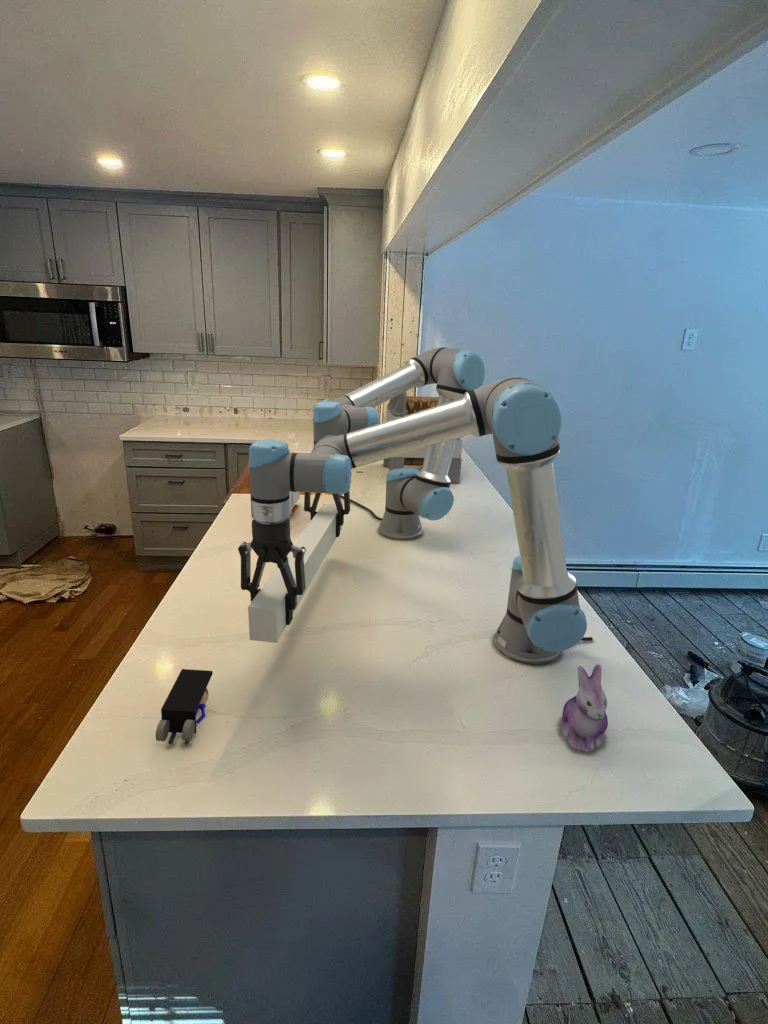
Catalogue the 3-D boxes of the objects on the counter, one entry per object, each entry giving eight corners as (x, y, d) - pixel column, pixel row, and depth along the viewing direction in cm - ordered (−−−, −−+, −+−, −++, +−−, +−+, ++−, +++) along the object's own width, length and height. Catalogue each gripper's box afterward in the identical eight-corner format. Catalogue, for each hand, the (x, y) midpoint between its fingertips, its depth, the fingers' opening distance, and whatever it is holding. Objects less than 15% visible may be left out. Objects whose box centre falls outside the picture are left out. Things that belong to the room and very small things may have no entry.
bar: (323, 527, 174) (323, 503, 172) (341, 528, 173) (341, 505, 171) (249, 640, 114) (247, 606, 112) (277, 643, 113) (276, 609, 111)
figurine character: (195, 758, 100) (216, 696, 113) (191, 727, 96) (213, 666, 110) (157, 758, 99) (182, 695, 113) (151, 726, 96) (178, 666, 110)
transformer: (382, 463, 289) (386, 382, 275) (445, 464, 293) (451, 384, 279) (390, 482, 257) (394, 392, 243) (460, 483, 261) (468, 394, 247)
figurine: (585, 761, 101) (600, 692, 96) (546, 725, 110) (557, 659, 104) (622, 745, 105) (638, 678, 100) (581, 712, 114) (594, 648, 109)
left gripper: (290, 459, 156) (292, 537, 164) (358, 463, 154) (356, 542, 162) (297, 452, 163) (299, 527, 171) (362, 457, 161) (360, 532, 169)
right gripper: (217, 521, 110) (225, 625, 118) (312, 528, 108) (313, 634, 116) (232, 508, 117) (238, 607, 125) (321, 515, 115) (321, 615, 123)
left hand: (327, 534), depth 167 cm, fingers closed on bar, 6 cm apart
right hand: (274, 620), depth 120 cm, fingers closed on bar, 6 cm apart
